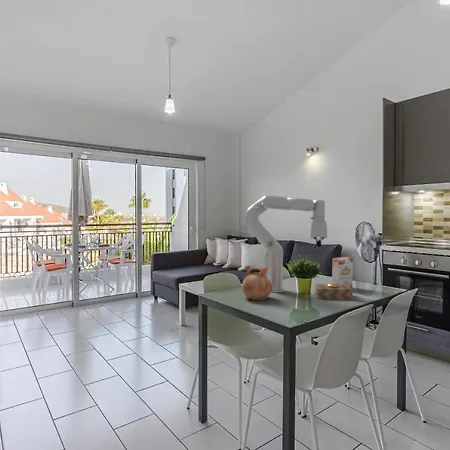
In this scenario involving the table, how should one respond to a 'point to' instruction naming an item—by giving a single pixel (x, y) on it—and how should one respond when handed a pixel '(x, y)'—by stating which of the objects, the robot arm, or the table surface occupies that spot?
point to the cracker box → (342, 271)
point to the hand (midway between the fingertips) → (318, 246)
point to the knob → (332, 285)
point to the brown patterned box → (333, 292)
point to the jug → (256, 284)
